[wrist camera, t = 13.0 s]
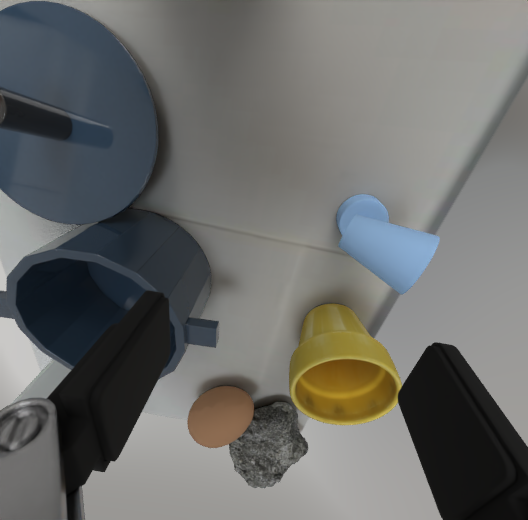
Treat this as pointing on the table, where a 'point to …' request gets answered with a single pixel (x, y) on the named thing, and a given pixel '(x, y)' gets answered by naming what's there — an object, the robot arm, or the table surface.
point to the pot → (110, 285)
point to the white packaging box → (45, 381)
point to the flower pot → (341, 370)
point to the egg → (220, 416)
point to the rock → (268, 445)
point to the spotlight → (383, 242)
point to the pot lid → (71, 115)
